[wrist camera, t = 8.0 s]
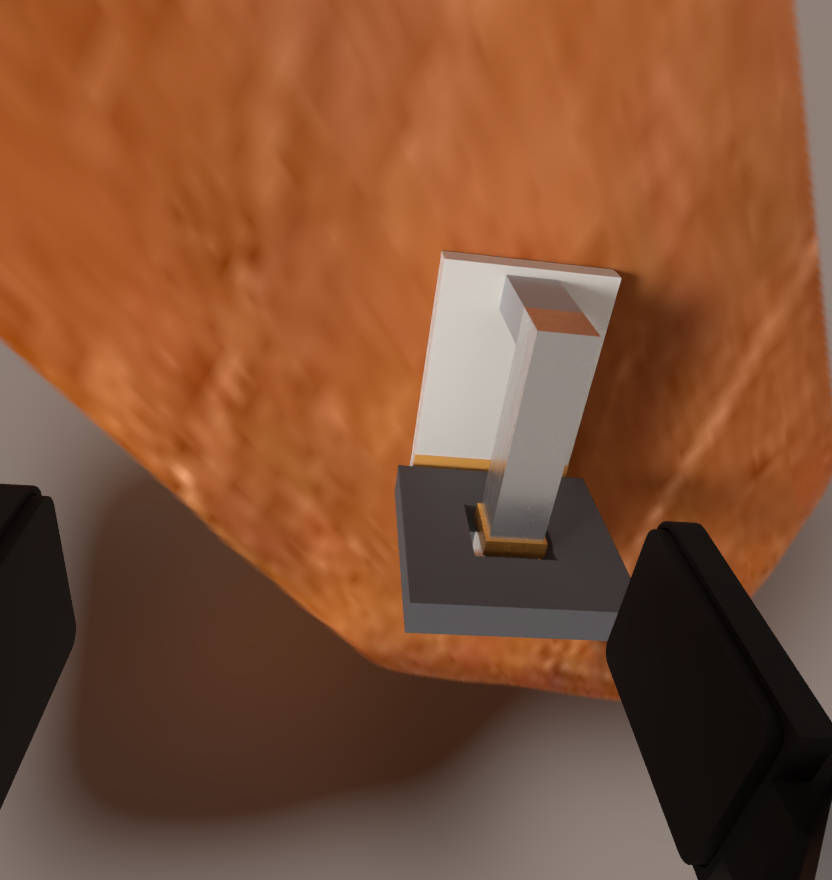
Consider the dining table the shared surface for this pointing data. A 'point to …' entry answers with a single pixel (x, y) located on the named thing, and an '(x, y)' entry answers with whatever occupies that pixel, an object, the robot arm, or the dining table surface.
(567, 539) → the collar
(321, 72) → the dining table surface
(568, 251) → the dining table surface
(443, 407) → the stand
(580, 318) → the grey square bar
